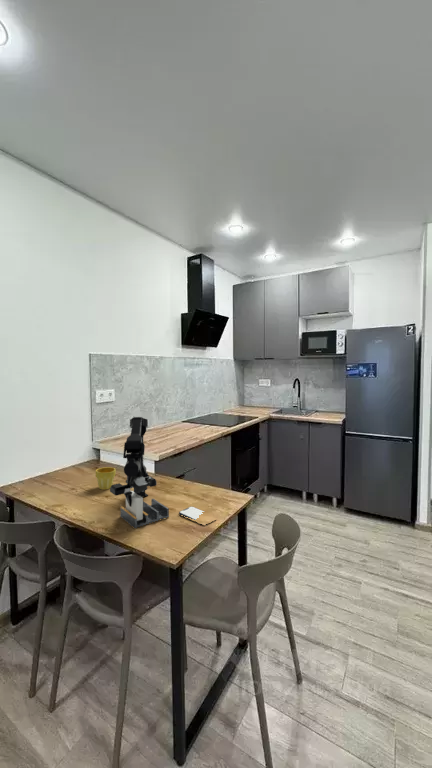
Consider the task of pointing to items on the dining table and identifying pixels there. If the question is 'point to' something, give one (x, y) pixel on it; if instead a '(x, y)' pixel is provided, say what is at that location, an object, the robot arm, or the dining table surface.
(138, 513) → the panel
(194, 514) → the phone case
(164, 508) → the rack
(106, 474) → the plant pot
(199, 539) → the dining table surface
